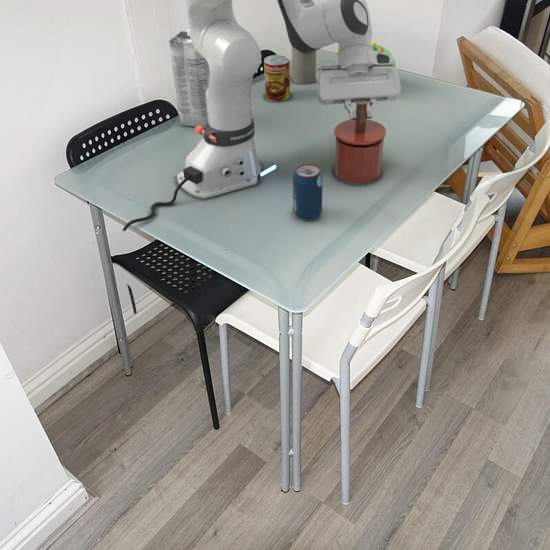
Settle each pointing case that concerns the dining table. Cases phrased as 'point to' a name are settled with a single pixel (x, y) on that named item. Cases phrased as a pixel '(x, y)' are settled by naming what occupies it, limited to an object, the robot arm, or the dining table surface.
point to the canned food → (277, 77)
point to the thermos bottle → (304, 60)
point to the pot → (358, 161)
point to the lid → (360, 128)
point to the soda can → (307, 191)
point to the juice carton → (189, 80)
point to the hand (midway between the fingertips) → (361, 118)
